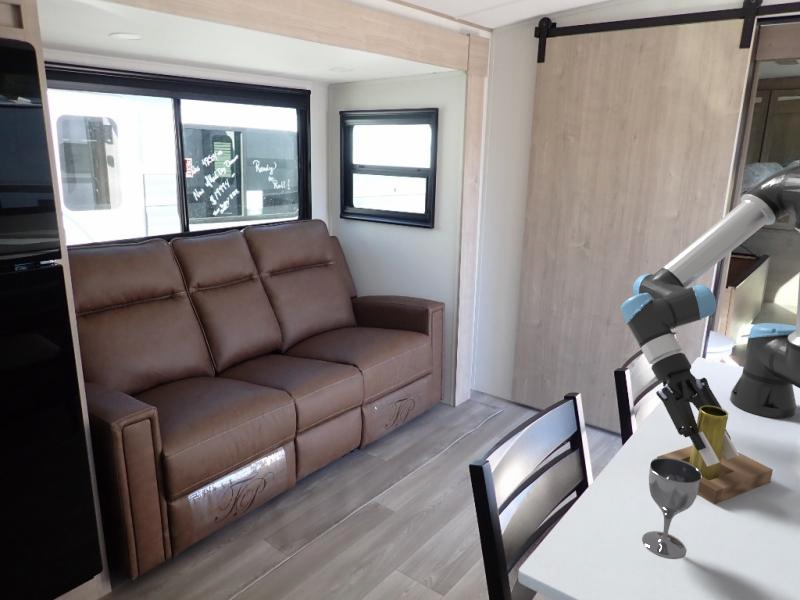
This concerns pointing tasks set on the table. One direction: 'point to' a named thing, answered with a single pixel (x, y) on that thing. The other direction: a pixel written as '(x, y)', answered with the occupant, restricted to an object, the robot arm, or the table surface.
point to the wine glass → (671, 501)
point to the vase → (710, 438)
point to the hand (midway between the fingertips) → (723, 460)
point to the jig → (729, 476)
